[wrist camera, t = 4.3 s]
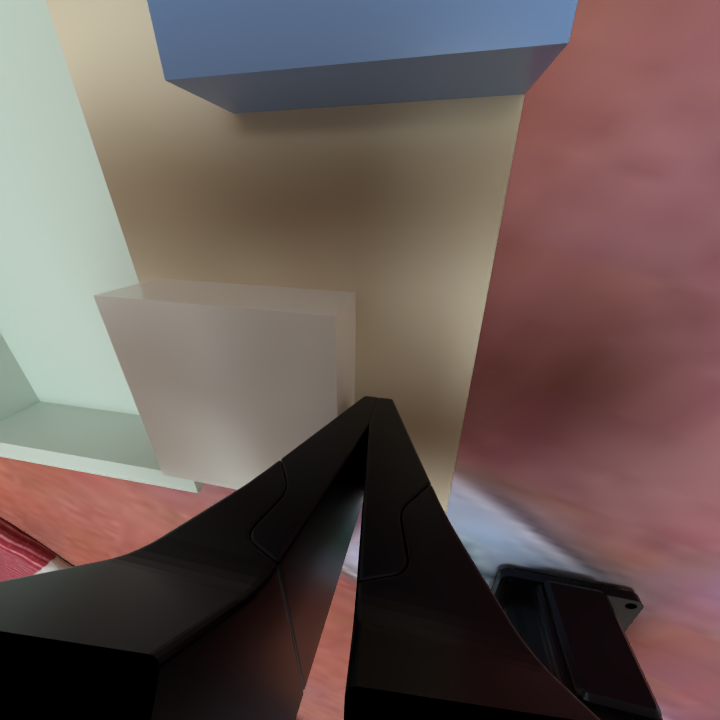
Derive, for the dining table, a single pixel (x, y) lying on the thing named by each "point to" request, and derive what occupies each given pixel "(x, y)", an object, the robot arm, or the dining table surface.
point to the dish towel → (24, 554)
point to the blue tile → (355, 49)
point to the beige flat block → (310, 208)
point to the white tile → (231, 370)
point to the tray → (59, 272)
